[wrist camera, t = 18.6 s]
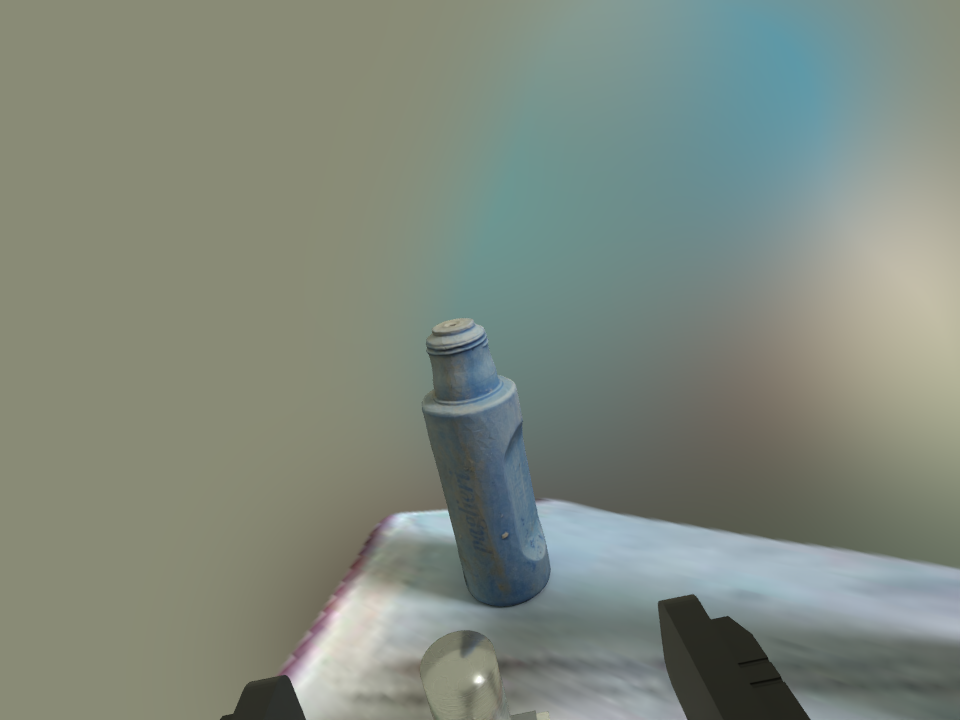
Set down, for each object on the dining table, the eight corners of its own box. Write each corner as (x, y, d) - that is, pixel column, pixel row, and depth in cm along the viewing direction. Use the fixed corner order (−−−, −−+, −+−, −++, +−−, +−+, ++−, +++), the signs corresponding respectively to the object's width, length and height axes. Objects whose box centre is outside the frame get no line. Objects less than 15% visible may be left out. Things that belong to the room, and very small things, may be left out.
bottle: (486, 544, 66) (430, 313, 57) (562, 552, 62) (515, 304, 53) (452, 601, 58) (382, 343, 49) (538, 615, 54) (477, 335, 45)
